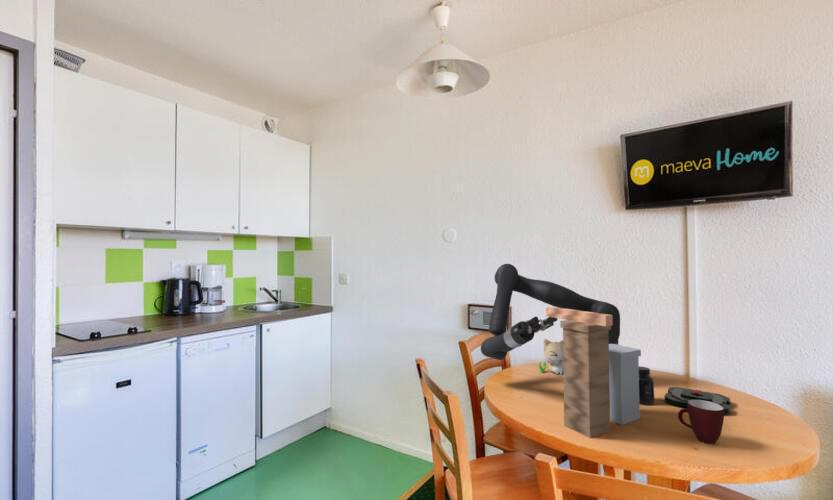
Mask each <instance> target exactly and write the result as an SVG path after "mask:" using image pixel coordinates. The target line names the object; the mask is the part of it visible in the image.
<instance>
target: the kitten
mask: <svg viewBox="0 0 833 500" xmlns="http://www.w3.org/2000/svg"><path fill="white" fill-rule="evenodd" d="M543 356H544V360H545V361H544V363H543V364H542V361H540V362H539V364H538V367H539V373H541V374H545V373H544V372H545V370H546V368H547V364H546V362H547V363H548V364H549V366H548V370H549V371H550V372H551V373H554V374H556V375H558V374H559V375H563V374H564V368H563V339H562V340H560V341H553V342H552V341H550V340H549V339H547V338H544V339H543ZM542 365H543V366H542Z"/></svg>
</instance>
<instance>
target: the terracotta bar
mask: <svg viewBox="0 0 833 500" xmlns="http://www.w3.org/2000/svg"><path fill="white" fill-rule="evenodd" d="M545 317H547V318H548V317H553V318H557V319H559V320H571V321H577V322H583V323H589V324H595V325H601V326H613V317H612V315H609V314H601V313H594V312H587V311H580V310H572V309H565V308H558V307H555V306H546V307H545Z"/></svg>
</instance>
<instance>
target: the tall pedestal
mask: <svg viewBox="0 0 833 500" xmlns="http://www.w3.org/2000/svg"><path fill="white" fill-rule="evenodd" d="M559 326H560V328H562V340H563V368H564V372H563V412H564V413H563V415H564V416H563V420H564V421H563V422H564V423H563V424H564V427H567V428H569V429H570V430H573V431H575V432H577V433H579V434H581V435H583V436H585V437H588V438H589V439H590V438H593V437H596V436H599V435H603V434H605V433H608V432H610V431H611V420H610V390H609V336H608V330H611V326H601V325H595V324H589V323H583V322H577V321H571V320H565V319H563V320H560V323H559Z"/></svg>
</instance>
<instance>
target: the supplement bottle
mask: <svg viewBox="0 0 833 500" xmlns="http://www.w3.org/2000/svg"><path fill="white" fill-rule="evenodd" d="M654 383H655V382H654V378H653V377H652V376H651V368H649V367H647V366H639V405H644V406H651V405H654V404H655V390H654V389H655V384H654Z"/></svg>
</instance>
